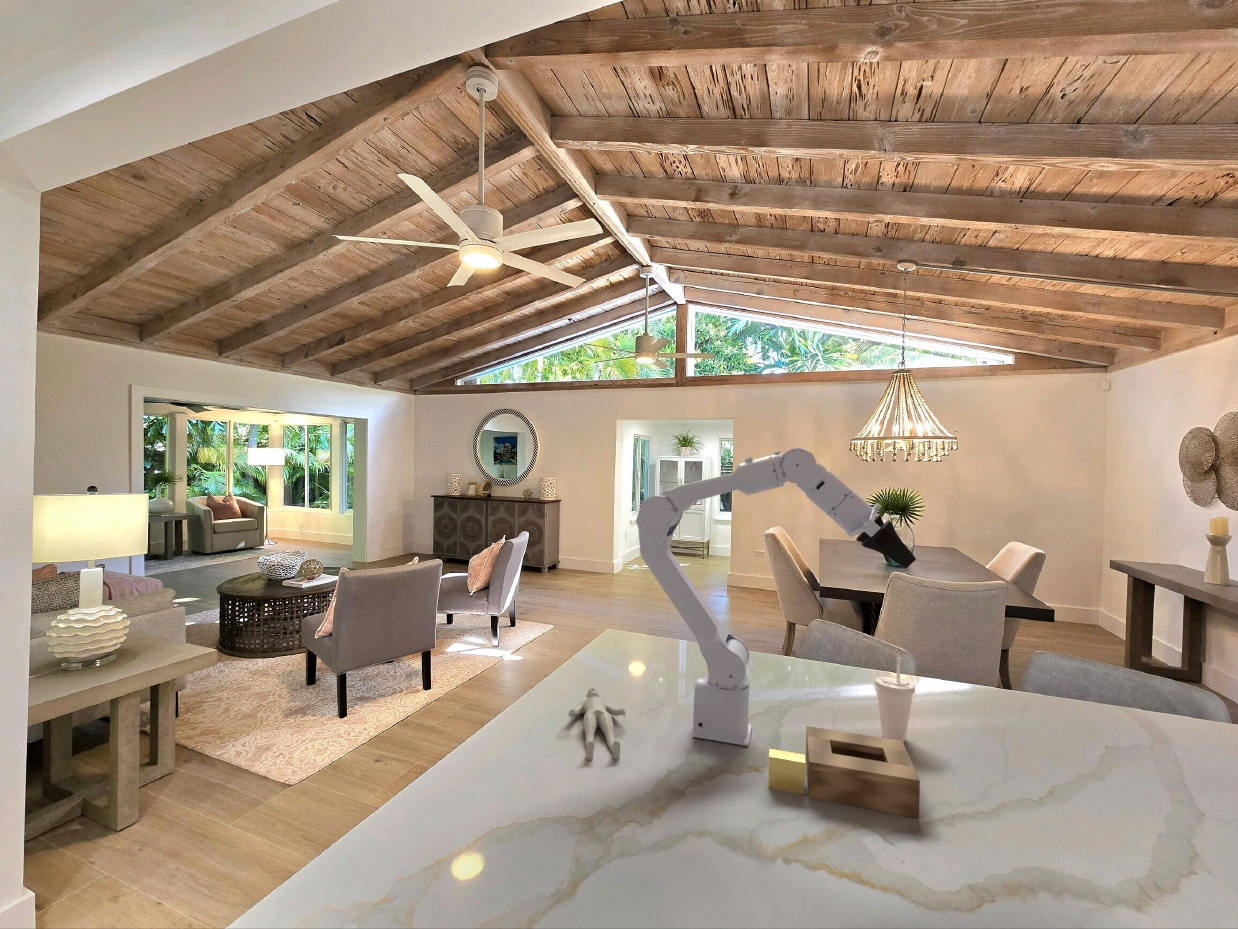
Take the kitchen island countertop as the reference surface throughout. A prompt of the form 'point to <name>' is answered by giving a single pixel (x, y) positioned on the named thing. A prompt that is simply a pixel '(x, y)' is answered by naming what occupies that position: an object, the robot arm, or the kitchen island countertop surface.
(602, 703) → the male figure
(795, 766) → the block
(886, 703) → the smoothie
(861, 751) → the brown rectangular hollow block
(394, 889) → the kitchen island countertop surface
